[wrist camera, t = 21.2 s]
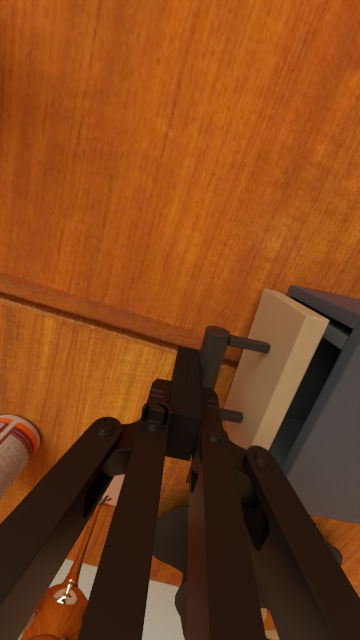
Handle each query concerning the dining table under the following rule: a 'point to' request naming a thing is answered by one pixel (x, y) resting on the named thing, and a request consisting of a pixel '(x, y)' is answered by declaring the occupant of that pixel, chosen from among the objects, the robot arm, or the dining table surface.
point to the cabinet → (331, 423)
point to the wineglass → (68, 589)
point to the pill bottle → (15, 448)
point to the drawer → (274, 371)
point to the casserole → (175, 553)
